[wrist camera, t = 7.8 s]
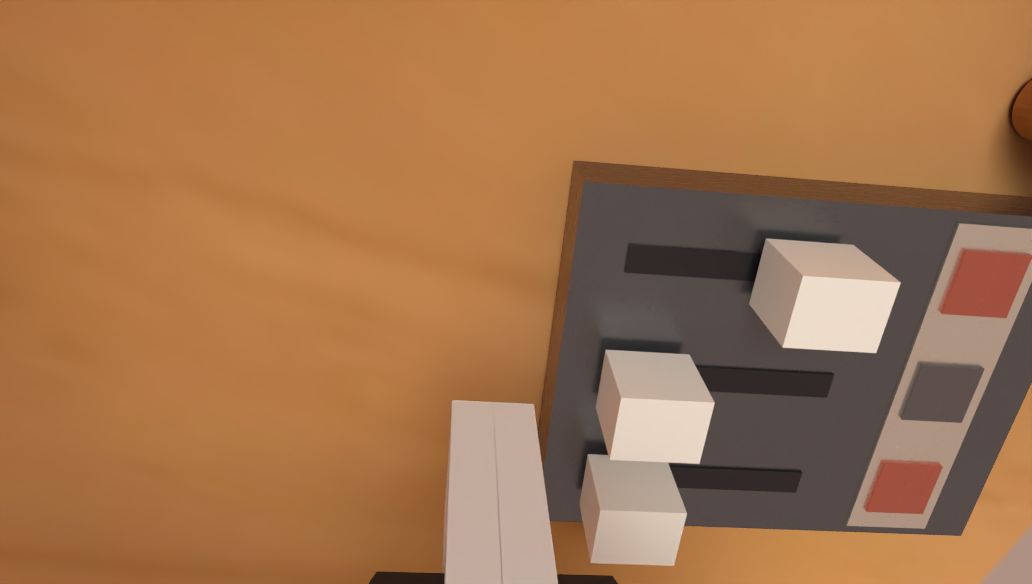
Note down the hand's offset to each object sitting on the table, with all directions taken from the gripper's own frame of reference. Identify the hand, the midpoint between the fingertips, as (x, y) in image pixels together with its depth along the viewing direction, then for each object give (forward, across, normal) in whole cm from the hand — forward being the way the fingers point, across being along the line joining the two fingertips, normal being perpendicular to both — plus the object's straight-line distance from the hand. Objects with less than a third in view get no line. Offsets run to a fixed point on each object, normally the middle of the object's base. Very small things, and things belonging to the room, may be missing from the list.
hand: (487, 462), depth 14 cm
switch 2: (+11, +6, -9) cm, 15 cm away
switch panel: (+14, +12, -5) cm, 19 cm away
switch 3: (+11, +11, 0) cm, 15 cm away
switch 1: (+11, +6, -5) cm, 13 cm away
